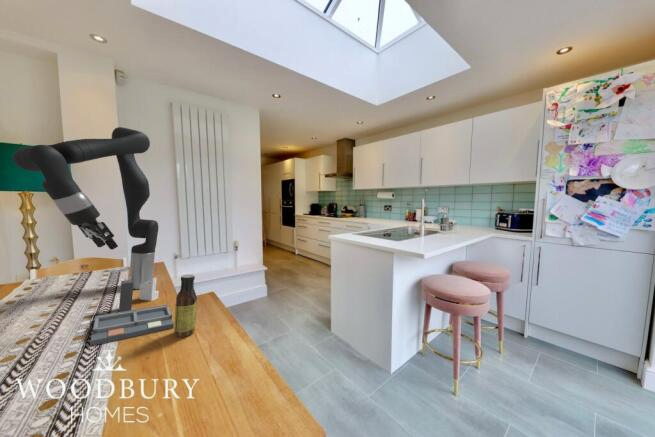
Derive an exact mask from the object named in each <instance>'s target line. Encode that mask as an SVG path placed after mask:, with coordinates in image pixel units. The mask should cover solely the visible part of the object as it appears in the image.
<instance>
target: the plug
mask: <svg viewBox="0 0 655 437" xmlns="http://www.w3.org/2000/svg"><path fill="white" fill-rule="evenodd" d="M130 279H131V277H130V278H129V277H128V279H127V277H124V280H121V281H120V289H119V290H120V293H119V305H118V312H123V311H130V310H132V306H133V296H134V295H133V294H134V292H133V291H134V289H133V283H134V282H133V280H130Z"/></svg>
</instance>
